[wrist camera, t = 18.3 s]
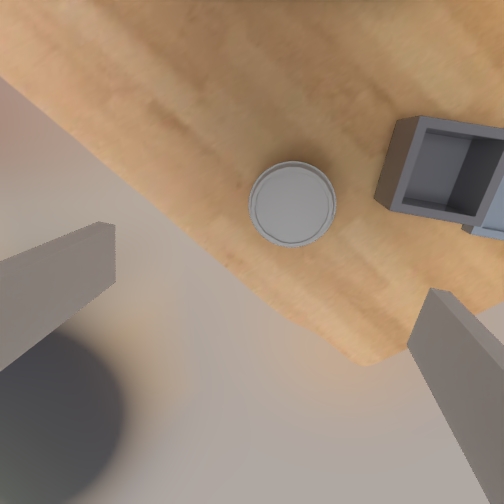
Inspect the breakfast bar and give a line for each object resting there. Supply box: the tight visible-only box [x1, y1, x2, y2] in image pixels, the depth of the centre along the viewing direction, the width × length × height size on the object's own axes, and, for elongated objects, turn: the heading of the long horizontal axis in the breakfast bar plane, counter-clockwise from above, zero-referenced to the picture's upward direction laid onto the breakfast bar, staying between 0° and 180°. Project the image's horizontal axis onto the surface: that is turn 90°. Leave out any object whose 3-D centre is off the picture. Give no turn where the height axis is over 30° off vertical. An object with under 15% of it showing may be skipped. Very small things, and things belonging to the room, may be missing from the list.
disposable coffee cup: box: [249, 161, 336, 247], centre depth 38 cm, size 10×10×12 cm
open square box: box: [374, 116, 504, 227], centre depth 36 cm, size 10×10×8 cm
